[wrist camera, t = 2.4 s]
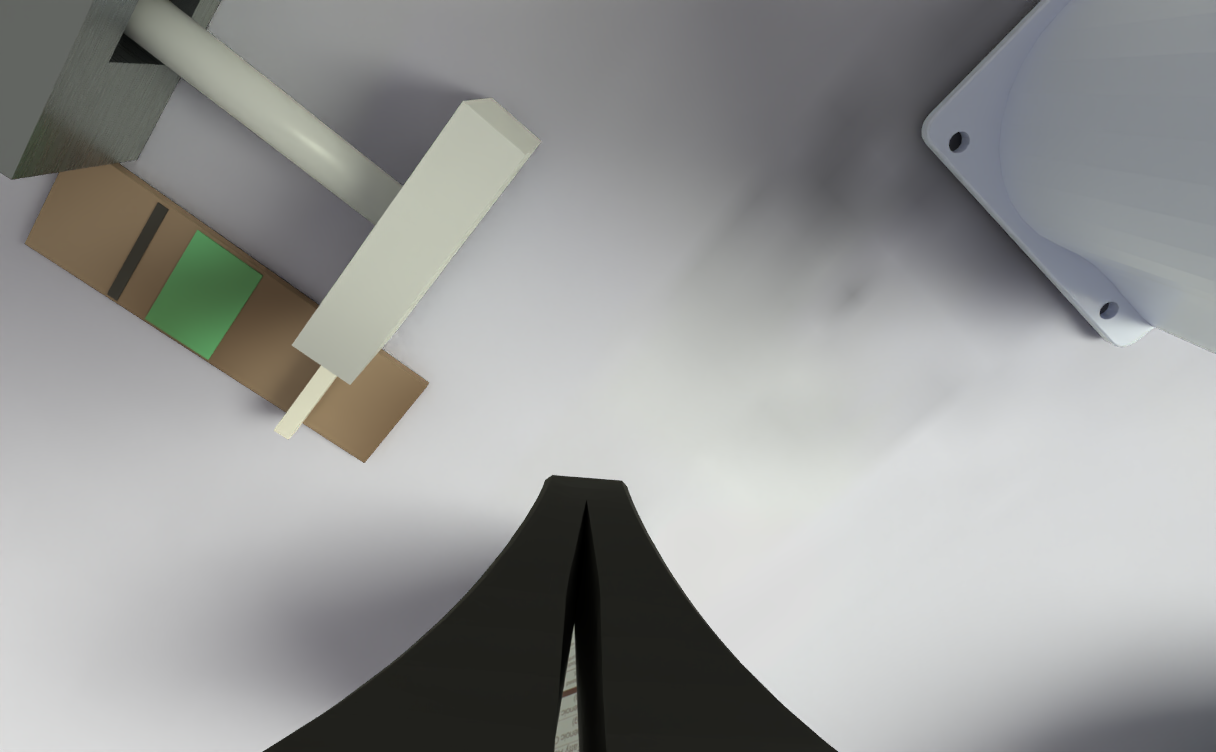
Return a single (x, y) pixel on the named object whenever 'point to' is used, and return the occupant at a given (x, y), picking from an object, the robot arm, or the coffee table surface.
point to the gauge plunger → (354, 193)
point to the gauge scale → (210, 299)
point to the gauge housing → (78, 84)
